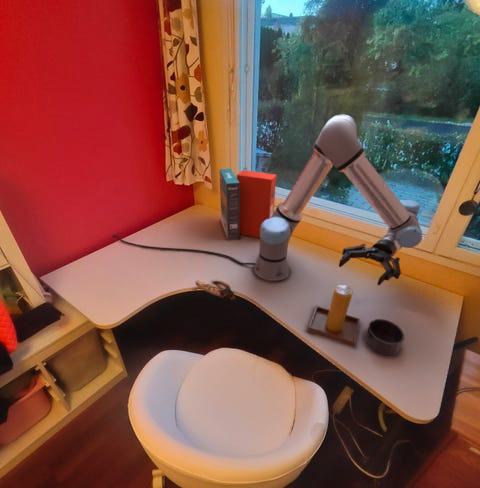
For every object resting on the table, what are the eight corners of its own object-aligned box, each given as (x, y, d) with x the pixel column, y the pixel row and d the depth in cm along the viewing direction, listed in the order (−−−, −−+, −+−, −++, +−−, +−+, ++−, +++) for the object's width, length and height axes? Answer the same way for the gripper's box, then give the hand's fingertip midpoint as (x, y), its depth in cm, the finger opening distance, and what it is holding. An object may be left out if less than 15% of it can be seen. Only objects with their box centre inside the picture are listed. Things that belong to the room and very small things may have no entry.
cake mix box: (239, 238, 149) (239, 182, 132) (227, 239, 148) (226, 183, 131) (231, 220, 166) (230, 168, 150) (221, 220, 165) (219, 169, 149)
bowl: (363, 348, 91) (367, 337, 88) (366, 326, 99) (370, 315, 96) (398, 361, 88) (404, 349, 85) (399, 336, 96) (404, 325, 93)
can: (324, 328, 98) (332, 292, 88) (327, 317, 102) (336, 282, 93) (340, 334, 96) (351, 298, 86) (343, 322, 100) (354, 287, 91)
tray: (307, 331, 97) (308, 327, 96) (315, 309, 106) (316, 305, 105) (354, 347, 92) (355, 342, 91) (358, 322, 101) (359, 318, 99)
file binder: (267, 239, 148) (271, 179, 130) (236, 233, 153) (236, 174, 135) (272, 232, 154) (276, 174, 136) (242, 226, 159) (243, 169, 141)
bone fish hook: (242, 292, 114) (205, 278, 121) (242, 283, 112) (204, 269, 119) (230, 306, 107) (191, 290, 114) (230, 296, 105) (191, 280, 112)
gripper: (417, 271, 101) (393, 299, 89) (352, 244, 116) (324, 265, 104) (425, 253, 97) (401, 280, 85) (356, 227, 112) (327, 248, 99)
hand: (359, 272), depth 94 cm, fingers open, 13 cm apart
